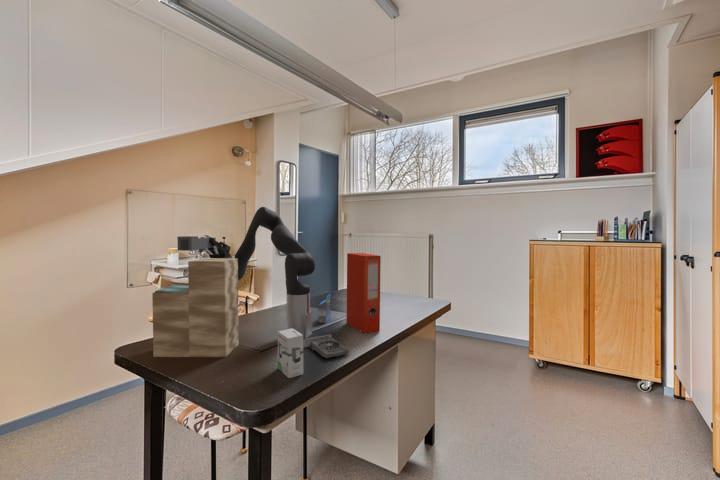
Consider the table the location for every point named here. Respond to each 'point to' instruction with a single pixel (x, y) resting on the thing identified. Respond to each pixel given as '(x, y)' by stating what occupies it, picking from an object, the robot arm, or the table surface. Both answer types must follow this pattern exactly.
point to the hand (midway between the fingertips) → (206, 239)
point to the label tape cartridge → (324, 310)
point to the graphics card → (326, 346)
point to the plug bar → (193, 243)
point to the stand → (198, 312)
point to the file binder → (363, 292)
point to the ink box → (290, 352)
